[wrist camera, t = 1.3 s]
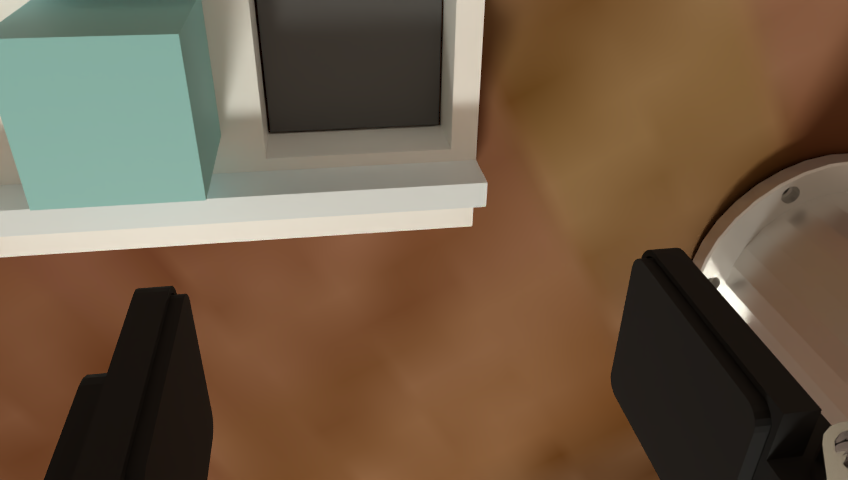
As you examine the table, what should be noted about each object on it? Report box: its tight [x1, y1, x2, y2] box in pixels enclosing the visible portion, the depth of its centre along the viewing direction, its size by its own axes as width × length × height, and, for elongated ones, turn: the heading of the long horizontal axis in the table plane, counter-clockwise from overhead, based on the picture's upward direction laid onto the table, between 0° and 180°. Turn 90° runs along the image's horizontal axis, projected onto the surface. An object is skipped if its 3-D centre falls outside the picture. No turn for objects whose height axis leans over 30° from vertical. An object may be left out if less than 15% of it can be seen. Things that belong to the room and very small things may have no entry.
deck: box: [0, 0, 487, 257], centre depth 24 cm, size 28×14×4 cm, turn 89°
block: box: [0, 0, 221, 211], centre depth 22 cm, size 5×5×5 cm
